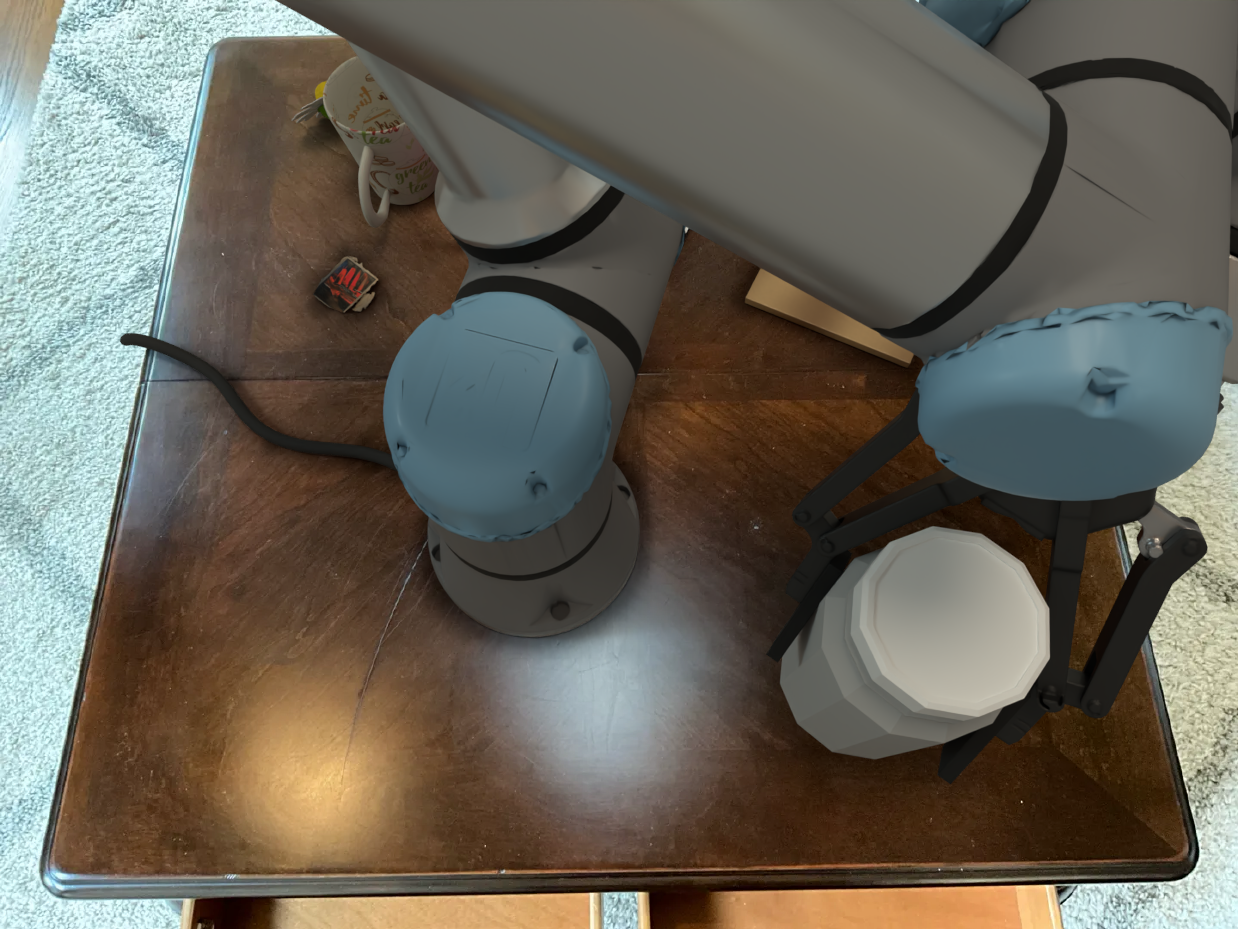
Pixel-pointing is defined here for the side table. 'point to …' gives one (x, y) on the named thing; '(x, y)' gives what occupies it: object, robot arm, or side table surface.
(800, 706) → the jar
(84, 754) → the side table surface
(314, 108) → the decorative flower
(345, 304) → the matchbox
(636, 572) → the side table surface
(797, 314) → the cork mat
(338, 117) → the mug
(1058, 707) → the robot arm
